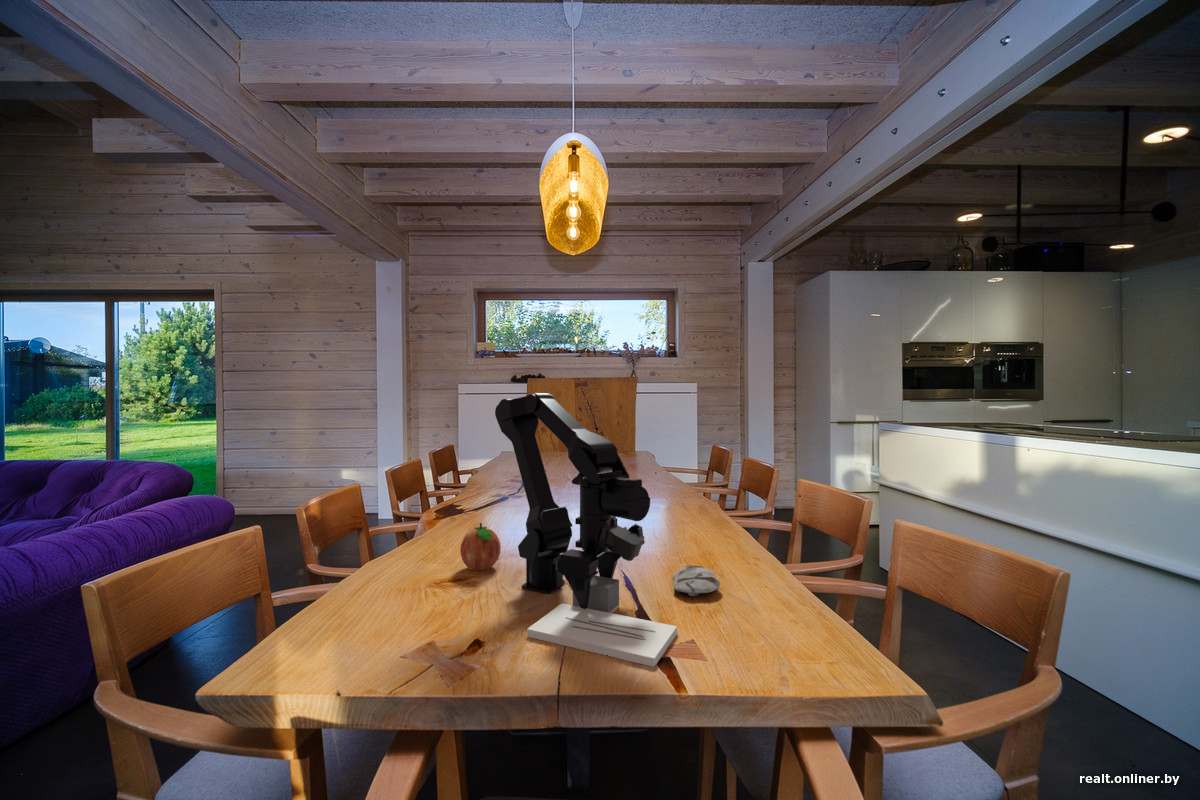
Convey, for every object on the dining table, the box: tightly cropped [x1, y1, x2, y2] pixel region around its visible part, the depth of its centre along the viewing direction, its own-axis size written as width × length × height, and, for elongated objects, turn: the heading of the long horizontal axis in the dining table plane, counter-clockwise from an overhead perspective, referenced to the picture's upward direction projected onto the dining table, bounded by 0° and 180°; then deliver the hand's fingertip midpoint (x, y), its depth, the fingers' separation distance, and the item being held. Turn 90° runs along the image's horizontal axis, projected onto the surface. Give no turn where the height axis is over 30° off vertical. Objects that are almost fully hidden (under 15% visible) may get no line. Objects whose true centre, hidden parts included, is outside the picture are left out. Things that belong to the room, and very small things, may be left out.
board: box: [526, 603, 678, 668], centre depth 80 cm, size 21×11×1 cm, turn 65°
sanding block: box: [572, 575, 620, 614], centre depth 90 cm, size 7×4×5 cm, turn 64°
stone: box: [672, 564, 721, 597], centre depth 100 cm, size 12×9×3 cm
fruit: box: [459, 522, 502, 571], centre depth 111 cm, size 9×10×10 cm
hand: (595, 598), depth 90 cm, fingers open, 9 cm apart
